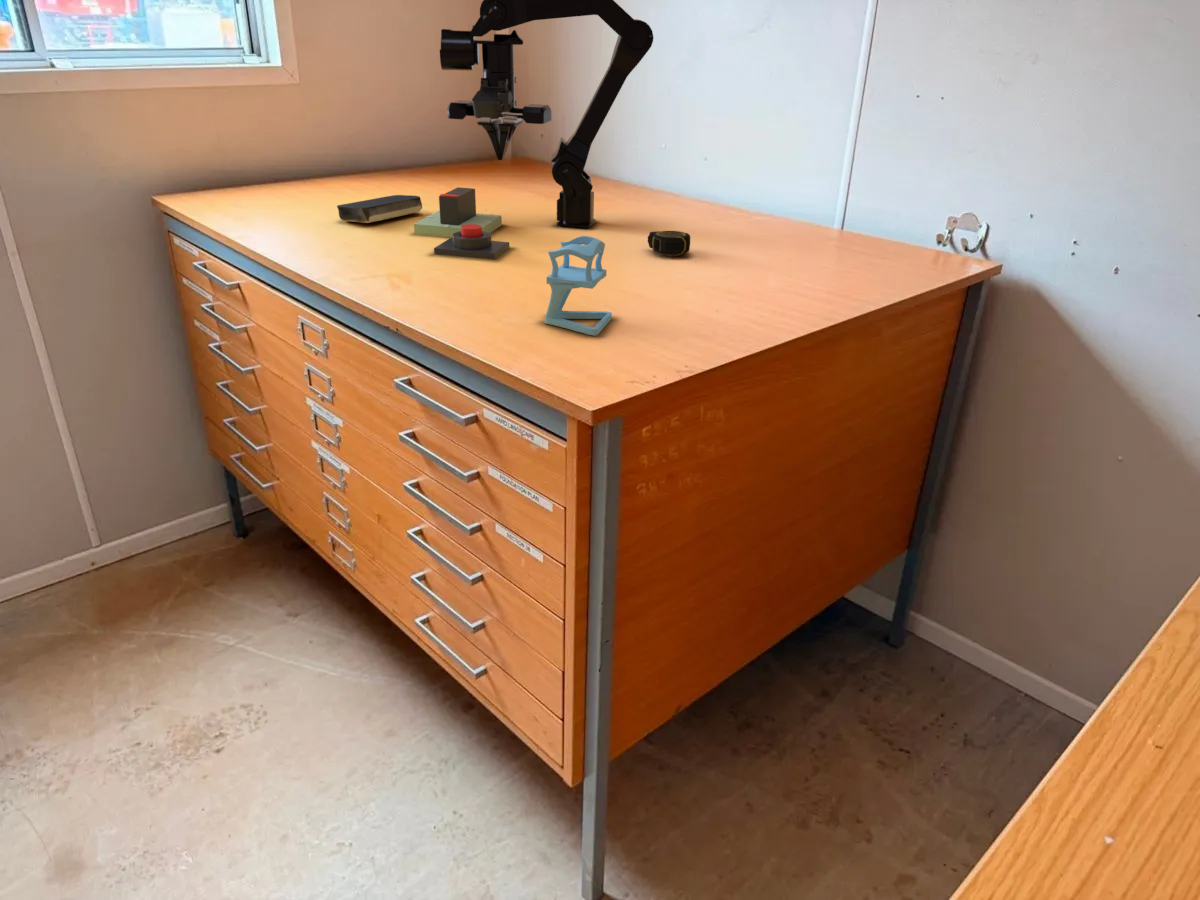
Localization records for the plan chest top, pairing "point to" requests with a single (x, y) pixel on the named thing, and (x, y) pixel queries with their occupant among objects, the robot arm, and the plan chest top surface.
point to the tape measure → (669, 242)
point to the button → (471, 231)
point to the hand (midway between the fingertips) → (500, 160)
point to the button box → (472, 247)
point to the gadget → (457, 206)
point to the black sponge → (380, 208)
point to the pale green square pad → (435, 228)
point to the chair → (575, 284)
